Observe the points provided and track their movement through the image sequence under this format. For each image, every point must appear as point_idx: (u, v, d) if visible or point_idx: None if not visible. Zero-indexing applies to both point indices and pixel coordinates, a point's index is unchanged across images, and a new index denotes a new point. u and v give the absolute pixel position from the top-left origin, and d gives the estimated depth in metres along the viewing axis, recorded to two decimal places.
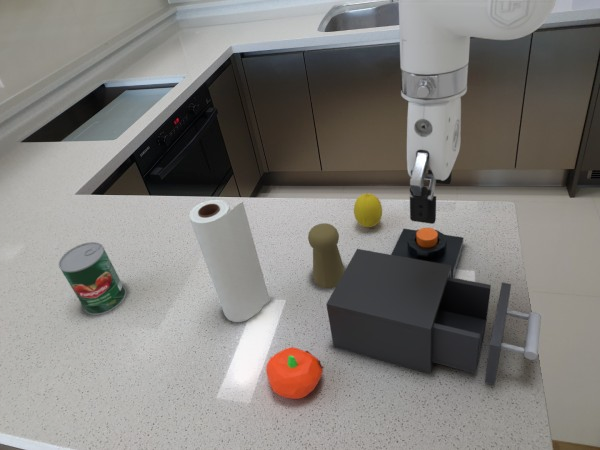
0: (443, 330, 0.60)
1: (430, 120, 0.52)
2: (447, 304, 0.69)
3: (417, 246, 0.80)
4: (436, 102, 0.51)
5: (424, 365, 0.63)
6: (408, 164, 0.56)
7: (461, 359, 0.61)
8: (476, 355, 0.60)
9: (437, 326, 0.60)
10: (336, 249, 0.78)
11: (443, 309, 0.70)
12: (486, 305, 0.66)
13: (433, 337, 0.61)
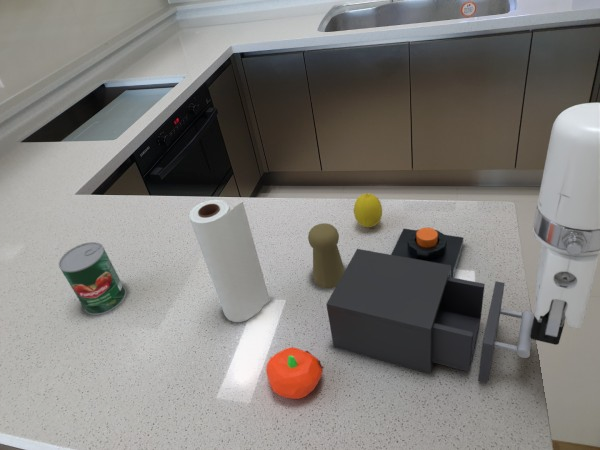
0: (436, 329, 0.60)
1: (576, 274, 0.47)
2: (441, 303, 0.70)
3: (417, 246, 0.80)
4: (584, 255, 0.46)
5: (424, 365, 0.63)
6: (537, 309, 0.51)
7: (455, 357, 0.62)
8: (469, 353, 0.60)
9: None
10: (336, 249, 0.78)
11: None
12: (480, 304, 0.66)
13: None
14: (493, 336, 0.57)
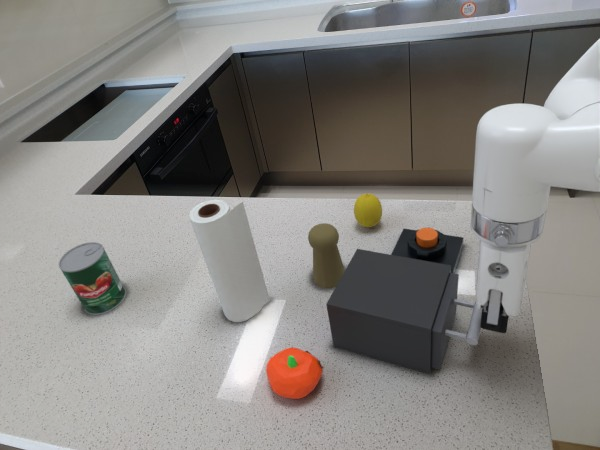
0: None
1: (507, 265, 0.49)
2: None
3: (417, 246, 0.80)
4: (513, 247, 0.49)
5: (424, 365, 0.63)
6: (477, 299, 0.54)
7: None
8: None
9: None
10: (336, 249, 0.78)
11: None
12: None
13: None
14: (442, 324, 0.60)
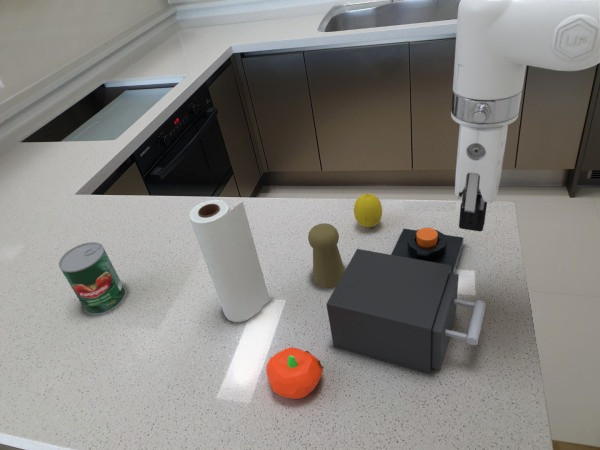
0: None
1: (484, 144, 0.52)
2: None
3: (417, 246, 0.80)
4: (490, 127, 0.52)
5: (424, 365, 0.63)
6: (456, 186, 0.57)
7: None
8: None
9: None
10: (336, 249, 0.78)
11: None
12: None
13: None
14: (442, 324, 0.60)
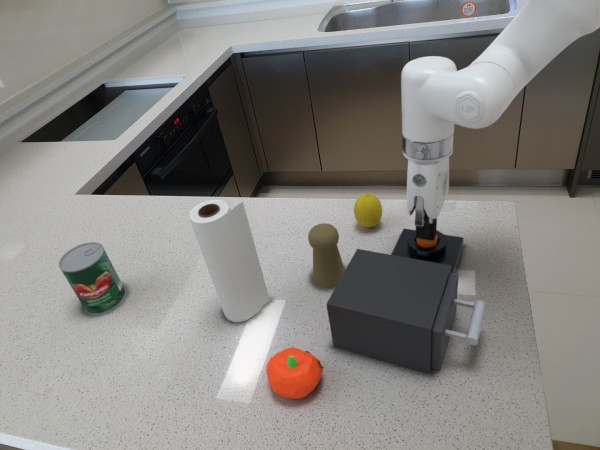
0: None
1: (424, 175, 0.68)
2: None
3: (417, 246, 0.80)
4: (429, 162, 0.68)
5: (424, 365, 0.63)
6: (407, 206, 0.73)
7: None
8: None
9: None
10: (336, 249, 0.78)
11: None
12: None
13: None
14: (442, 324, 0.60)
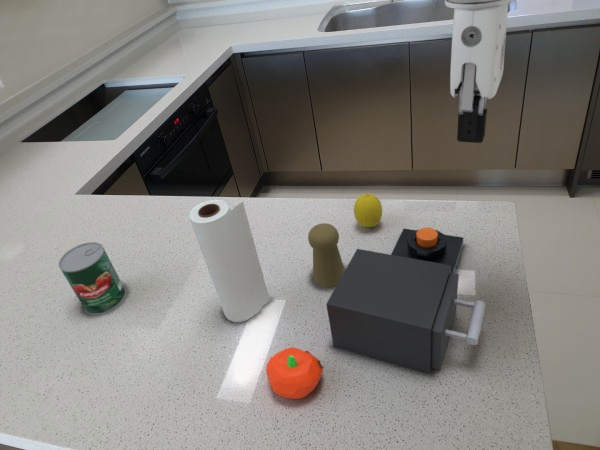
0: None
1: (479, 26, 0.48)
2: None
3: (417, 246, 0.80)
4: (486, 6, 0.48)
5: (424, 365, 0.63)
6: (451, 82, 0.53)
7: None
8: None
9: None
10: (336, 249, 0.78)
11: None
12: None
13: None
14: (442, 324, 0.60)
